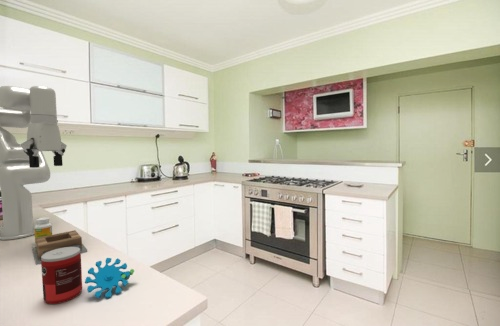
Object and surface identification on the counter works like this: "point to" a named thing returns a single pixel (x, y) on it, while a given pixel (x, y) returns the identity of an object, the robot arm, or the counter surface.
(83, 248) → the jig plate
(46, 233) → the supplement bottle
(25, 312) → the counter surface
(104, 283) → the gear
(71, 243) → the frame
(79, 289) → the canned food
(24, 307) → the counter surface
